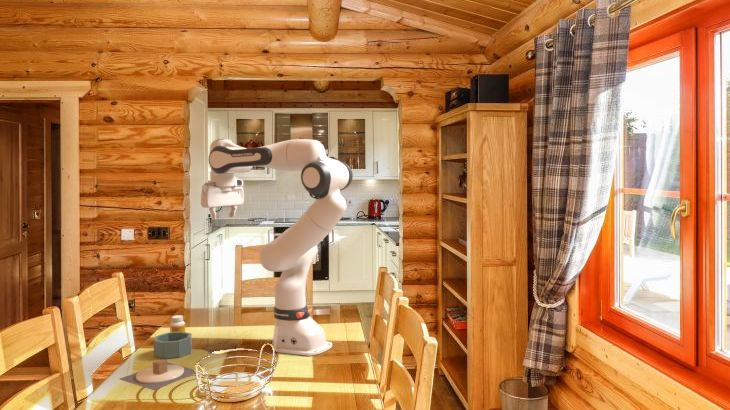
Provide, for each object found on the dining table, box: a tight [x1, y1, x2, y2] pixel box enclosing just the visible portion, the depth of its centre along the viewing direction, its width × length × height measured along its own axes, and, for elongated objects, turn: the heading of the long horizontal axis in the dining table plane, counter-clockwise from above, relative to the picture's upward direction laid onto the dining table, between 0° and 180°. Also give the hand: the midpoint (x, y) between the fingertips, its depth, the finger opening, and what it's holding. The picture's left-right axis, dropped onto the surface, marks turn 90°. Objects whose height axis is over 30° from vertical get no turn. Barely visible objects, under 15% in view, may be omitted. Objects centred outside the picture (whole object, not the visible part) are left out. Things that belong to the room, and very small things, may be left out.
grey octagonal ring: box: [153, 331, 193, 360], centre depth 189 cm, size 12×12×6 cm
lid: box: [136, 358, 184, 384], centre depth 168 cm, size 14×14×4 cm
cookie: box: [202, 340, 245, 354], centre depth 194 cm, size 12×12×1 cm
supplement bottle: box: [169, 314, 186, 332], centre depth 203 cm, size 5×5×10 cm
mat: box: [119, 361, 196, 391], centre depth 168 cm, size 17×17×1 cm
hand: (223, 218), depth 207 cm, fingers open, 8 cm apart
